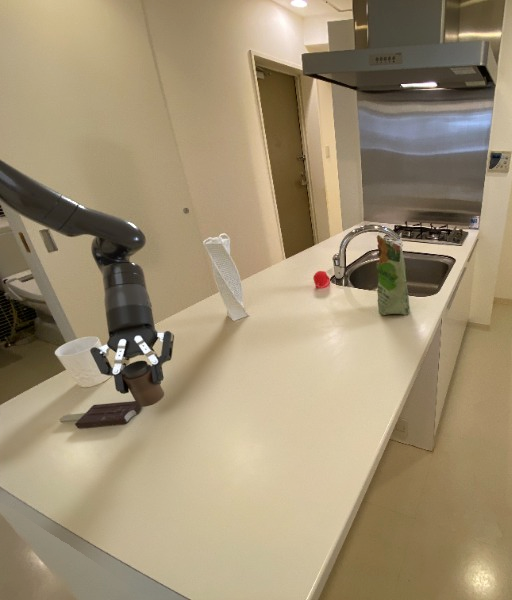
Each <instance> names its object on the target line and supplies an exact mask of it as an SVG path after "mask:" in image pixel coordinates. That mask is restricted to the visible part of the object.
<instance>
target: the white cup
mask: <svg viewBox="0 0 512 600" xmlns="http://www.w3.org/2000/svg"><path fill="white" fill-rule="evenodd" d="M101 346H103V345H102V342H101V340H100V338H99V337H97V336H93V335H92V336H90V335H89V336H84V337H79V338H76V339H73V340H70V341H68V342H66V343H63V344H62V345H60V346H58V347H57V348H56V349H55V350H54V355H55V356H56V357H57V359H58V361H59V362H60V363H61V365H62V366H63V367H64V369H65V370H66V372H67V373H68V374H69V376H70V377H71V378H72V379H73V380H74V381H75V383H76V384H77V386H79V387H81V388H91V387H95V386H98V385H100V384H103V383H104V382H106V381H108V380H109V379H110V378H111V377H112V376H108V375H104V374H101V372H100V370H99V368H98V366H97V364H96V362H95V360H94V358H93V356H92V354H91V352H90V350H91V348H93V347H96V348H99V347H101ZM107 359H108V361H109V358H108V357H107ZM109 363H110V364H111V362H110V361H109Z"/></svg>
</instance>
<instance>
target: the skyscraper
mask: <svg viewBox="0 0 512 600" xmlns="http://www.w3.org/2000/svg"><path fill="white" fill-rule="evenodd" d="M222 236H226V237H227V238H223V237H222ZM202 245H203V247H204V248H205V250H206V252H207V254H208V256H209V258H210V260H211V269H212V274H213V278H214V281H215V284H216V287H217V290H218V292H219V296H220V298H221V299H222V302H223V304H224V306H225V308H226V316H227V317H229V318H230V319H231V320H232V322H235V321H237V320H240V319H242V318H245V317H249V316H250V314H249V313H248V311H247V310H246V308H245V307H244V296H243V294H244V293H243V285H242V280H241V276H240V272H239V270H238V267H237V265H236V262H235V261H234V259H233V257H232V256H231V238H230V236H229V234H226V233H225V232H223V233H221V234H219V235H218V236H215V237H212V236H210V237H207V238H205V239H204V240H203V242H202Z"/></svg>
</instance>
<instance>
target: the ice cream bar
mask: <svg viewBox="0 0 512 600" xmlns="http://www.w3.org/2000/svg"><path fill="white" fill-rule="evenodd" d="M142 408H143V407H140V406H138V405H137V403H136V401H135V400H131V401H119V402H110V403H109V402H108V403H97V404H93V405H92V406H90V408H89V409H88V410H87V411H86V412H81V413H70V414H64V415H63V416H61V417H60V418H59V419H58V420H59V422H60V423H70V422H72V423H73V422H75V424H74V425H75V427H76V428H77V429H78V430H79V429H81V430H82V429H88V428H89V429H90V428H101V427H112V426H121V425H122V426H123V425H126V424H127V423H128V422H129V421H130V420H131V419H132V418H133V417H135V416H137V415H138V414H139V413H140V412H141V410H142Z"/></svg>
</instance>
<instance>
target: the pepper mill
mask: <svg viewBox="0 0 512 600" xmlns="http://www.w3.org/2000/svg"><path fill="white" fill-rule="evenodd" d="M151 366H152V364H149V363H148V362H147V361H146V360H137V361H133V362H131V363H129V364H128V365H127V366H126V367H125V368H124V369H123V373H124V375H123V379H124V381H125V383H126V385H127V386H128V388H129V392H130V394H131V395H132V398H133V400H134V401H136V403H137V405H138V406H140V407H142V408H145V407H150V406H153V405H155V404H157V403H159V402H160V401H161V400H162V399H163V398H164V396H165V391H164V389H163V387H162V385H161V384H158V385H155V384H154V383H153V378H152V372H151Z"/></svg>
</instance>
